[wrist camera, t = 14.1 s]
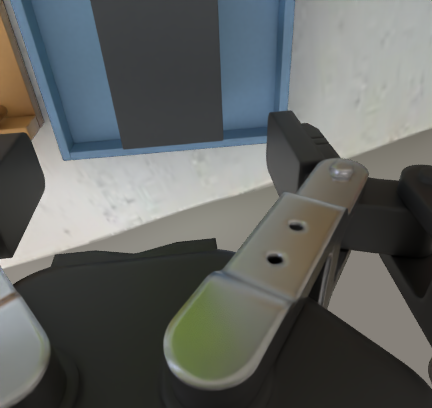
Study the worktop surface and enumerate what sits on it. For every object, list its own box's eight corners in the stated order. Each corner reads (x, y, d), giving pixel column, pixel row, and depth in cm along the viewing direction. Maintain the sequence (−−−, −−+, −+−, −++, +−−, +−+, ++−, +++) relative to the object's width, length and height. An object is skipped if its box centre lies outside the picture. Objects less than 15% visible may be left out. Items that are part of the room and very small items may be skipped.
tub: (132, 109, 26) (122, 150, 21) (107, -22, 21) (87, -9, 16) (214, 102, 26) (223, 141, 21) (206, -29, 21) (217, -18, 17)
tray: (69, 147, 27) (63, 161, 26) (-1, -76, 20) (-16, -77, 18) (278, 130, 28) (285, 141, 27) (291, -92, 20) (302, -94, 19)
